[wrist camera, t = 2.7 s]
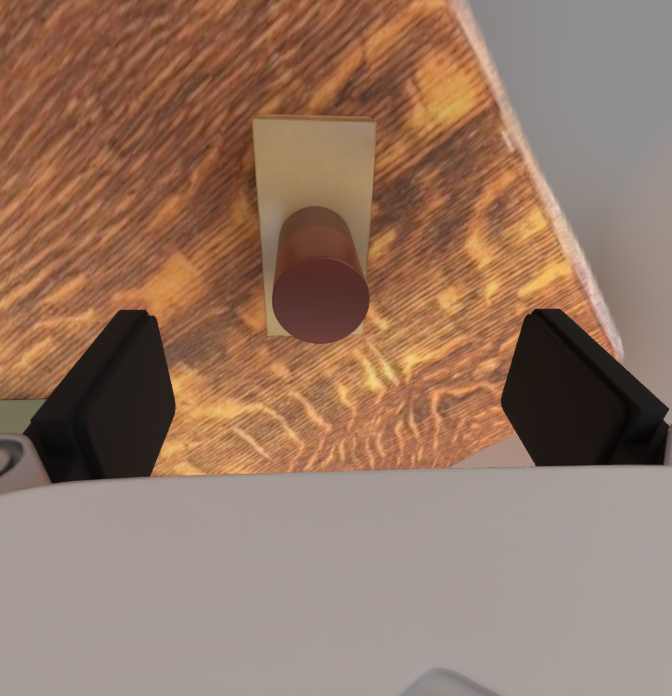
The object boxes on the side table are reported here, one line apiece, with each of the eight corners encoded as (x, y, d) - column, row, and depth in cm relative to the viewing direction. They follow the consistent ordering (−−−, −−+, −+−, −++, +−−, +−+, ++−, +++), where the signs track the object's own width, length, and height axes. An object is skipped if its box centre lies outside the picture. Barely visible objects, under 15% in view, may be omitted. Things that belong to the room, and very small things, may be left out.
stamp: (258, 111, 18) (230, 139, 10) (366, 113, 18) (411, 142, 11) (270, 305, 23) (257, 416, 15) (355, 304, 23) (381, 412, 16)
